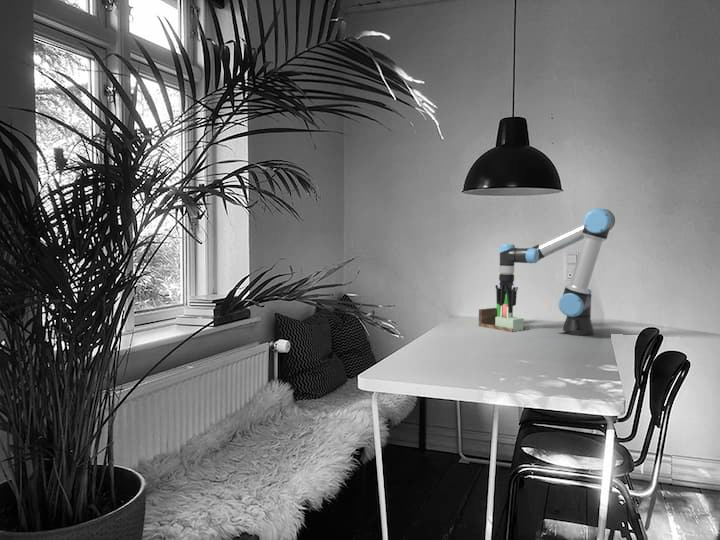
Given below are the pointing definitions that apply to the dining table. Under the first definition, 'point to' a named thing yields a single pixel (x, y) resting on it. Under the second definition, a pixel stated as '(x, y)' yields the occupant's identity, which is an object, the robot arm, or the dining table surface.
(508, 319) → the socket block
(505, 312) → the dowel
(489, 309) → the channel board
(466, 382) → the dining table surface
